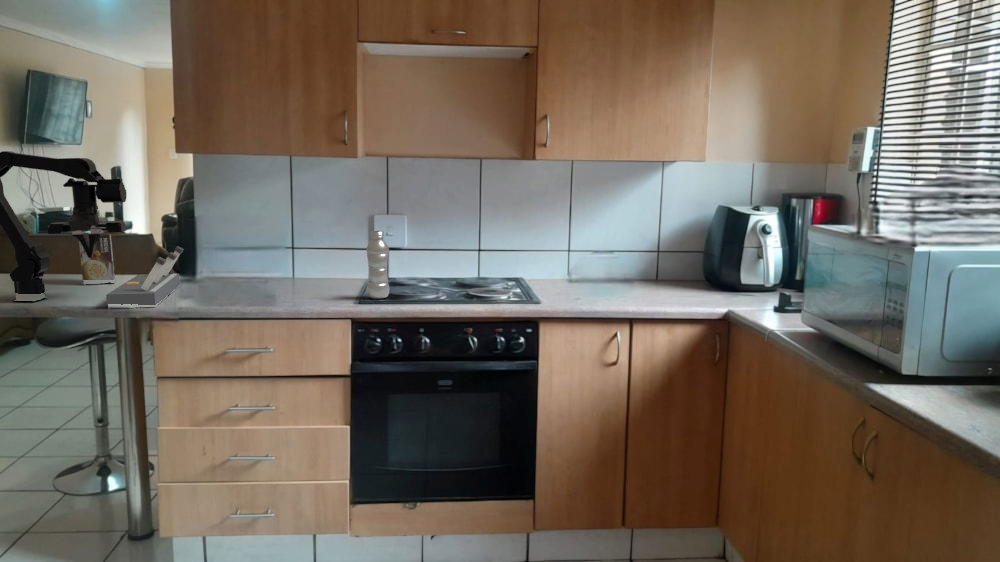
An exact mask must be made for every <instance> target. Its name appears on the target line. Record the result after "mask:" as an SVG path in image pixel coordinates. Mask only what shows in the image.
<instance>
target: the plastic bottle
mask: <svg viewBox="0 0 1000 562" xmlns="http://www.w3.org/2000/svg"><path fill="white" fill-rule="evenodd" d="M370 238H371V239H370V241H369V243H368V244H367V246H366V249H365V250H366V257H367V267H368V276H367V277H368V278H367V283H366V295H367V297H368V298H371V299H375V300H380V299H384V298H387V297H389V295H390V285H389V281H388V261H389V256H390V255H389V252H390V247H389V245H388V243H387V242H386V241H385V239H384V238H385V235H384V230H371V231H370Z"/></svg>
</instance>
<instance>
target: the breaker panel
mask: <svg viewBox="0 0 1000 562" xmlns="http://www.w3.org/2000/svg"><path fill="white" fill-rule="evenodd" d="M148 275H149V274H137V275H135V276H134V277H132V278H131V279H129V280H128V281H126V282H124V283H122V284H121V285H119V286H118V287H116V288H115V289H113V290H111V291H110V292H108V293H107V294H106V295H105V297H106V305H107V304H121V305H123V304H131V305H132V304H138V305H156V304H157V303H159V302H160V301H161V300H163V299H164V298H165V297H166V296H167V295H169V294H170V293H171V292H172V291H173V290H174V289H176V288H177V287H178V286H179V285H180V286H181V282H180V281H181V280H180V273H168V275H167V276H164V275H163V276H162V277H161V279H160V280H159V282H157V283H155V282H154V281H153V282H152V284H151V286H150V287H149V289H148V290H147V291H146V290H144V289H142V288H141V287H142V285H143V283H144V282H145V280H146V278H147V277H148ZM178 288H179V287H178ZM178 288H177V289H178ZM177 289H176V290H177ZM170 295H171V294H170ZM170 295H169V296H170Z"/></svg>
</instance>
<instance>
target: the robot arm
mask: <svg viewBox="0 0 1000 562" xmlns="http://www.w3.org/2000/svg"><path fill="white" fill-rule="evenodd" d="M14 167H17V168H24V169H32V170H33V169H34V170H39V171H46V172H47V171H48V172H54V173H58V174H59V175H63V176H66V177H70V178H68V179H67V181H66V182H65V183H64V184H63V185H62V186H63V187H64V188H71V190H72V199H73V200H72V202H73V207H72V213H71V215H70V217H69V218H68V220H67V222H65V221H64V222H61V221H60V222H51V223H49V224H48V225H47V234H49V235H60V234H62V233H67V232H71V237H75V239H77V240H78V242H79V241H80V243H81V244H82V246H83V248H84V250H85V252H86V254H87V256H88V258H92V257H93V254H94V251H95V248H96V245H97V242H98V240H99V238H100V236H101V235H103V234H105V231H107V232H108V233H123V232H125V231H127V225H126V222H124V221H123V220H118V221H111V220H110V221H107V222H106V223H100V220H99V212H98V211H99V205H98V203H97V202H98V201H97V199H98V200H100V201H101V203H106V204H107V203H109V204H110V203H125V202H126V201H127V189H126V188H125V183H124V182H123V178H121V177H120V178H118V177H117V178H111V179H108V178H107V179H106V178H105V177H104V176H103V175H102V174H101V173H100V172H99V171H98V170H97V166H96V164H95V163H94V161H93V160H92V159H90V158H87V157H69V158H68V157H66V158H57V157H55V158H54V157H49V156H42V155H34V154H26V153H20V152H19V153H18V152H15V151H11V150H10V151H9V150H6V151H5V150H3V151H0V227H1V229H2V230H3V232H4V233H5V235H6V237H7V239H8V241H9V242H10V243H11V245H12V247H13V251H14V260H15V262H16V264H17V267H15V268H14V269H13V270H12V271H11V272H10V273H9V277H10V279H11V281H12V283H13V286H14V294H15V293H18V294H41V293H44V292H45V293H46V289H45V286H46V285H45V283H43V282H44V281H43V279H44V278H42V277H44V276H45V275H44V274H45V272H46V271H47V270H48V269H49V267H50V264H51V259H50V257H51V255H50V254H49V253H48V251H47V250H46V247H45V246H44V244H43V243H40V244H36V243H35V242H33V240H31V238H30V236H29V234H28V232H27V231H26V230H25V228H24V226H23V225H22V223H21V221H20V219H19V218H18V216H17V214H16V212H15V211H14V209H13V208H12V206H11V204H10V203H9V201H8V200H7V198H6V196H5V191H4V185H3V182H2V179H1V178H3V176H5V175H6V174H7V173H8V172H9V171H10V170H11V169H13V168H14ZM75 179H77V180H75ZM81 179H82V180H81ZM90 183H96V184H90ZM88 231H89V232H90V233H89V232H88Z"/></svg>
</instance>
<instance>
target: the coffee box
mask: <svg viewBox="0 0 1000 562" xmlns="http://www.w3.org/2000/svg"><path fill="white" fill-rule="evenodd" d="M78 245H79V246H78V249H79V256H80V266H81V277H82V281H83V280H114V279H115V280H116V275H115V265H114V255H113V241H112V234H111V233H109V232H108V233H105V234H103V235H101V236H100V238H99V240H98V242H97V245H96V248H95V251H94V254H93V257H92V258H88V256H87V254H86V252H85V250H84V248H83V246H82V244H81V243H80V241H79V240H78Z"/></svg>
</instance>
